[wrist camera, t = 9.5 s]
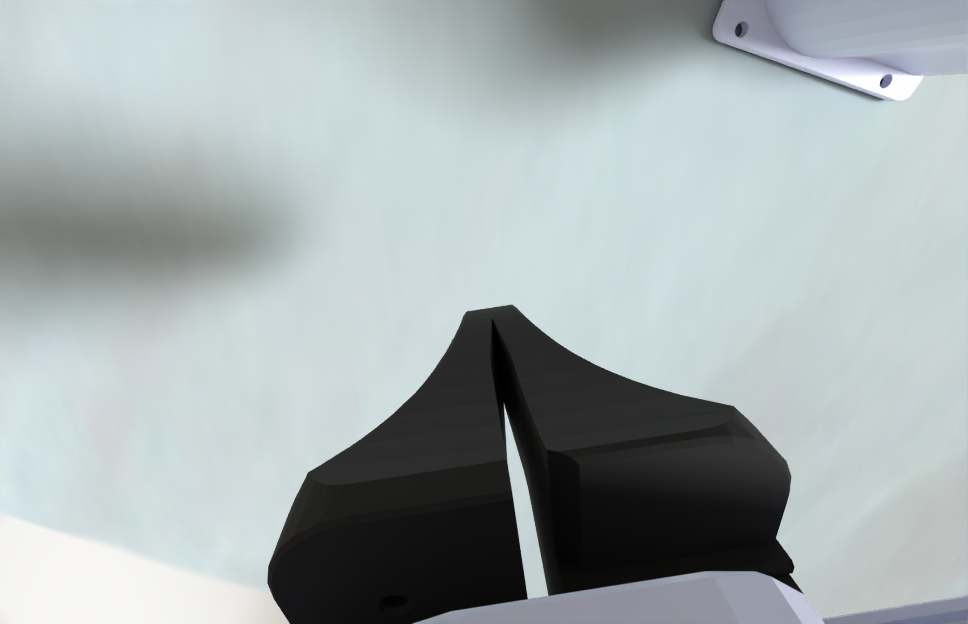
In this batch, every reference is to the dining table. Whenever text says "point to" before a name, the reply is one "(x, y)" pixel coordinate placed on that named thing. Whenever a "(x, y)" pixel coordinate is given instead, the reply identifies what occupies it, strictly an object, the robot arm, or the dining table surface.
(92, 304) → the dining table surface
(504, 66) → the dining table surface
